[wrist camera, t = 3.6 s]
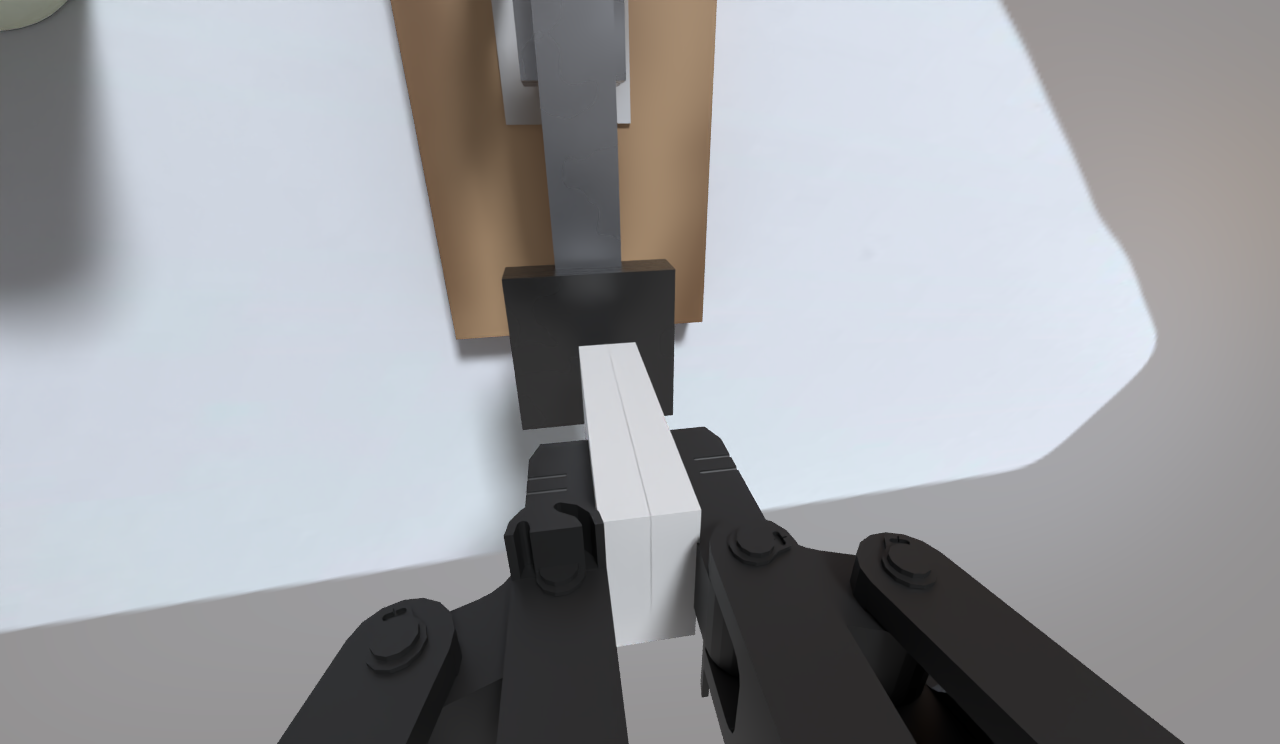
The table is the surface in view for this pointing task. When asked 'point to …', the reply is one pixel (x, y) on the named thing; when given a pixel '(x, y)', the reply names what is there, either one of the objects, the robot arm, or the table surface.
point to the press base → (514, 147)
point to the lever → (581, 220)
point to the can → (26, 12)
